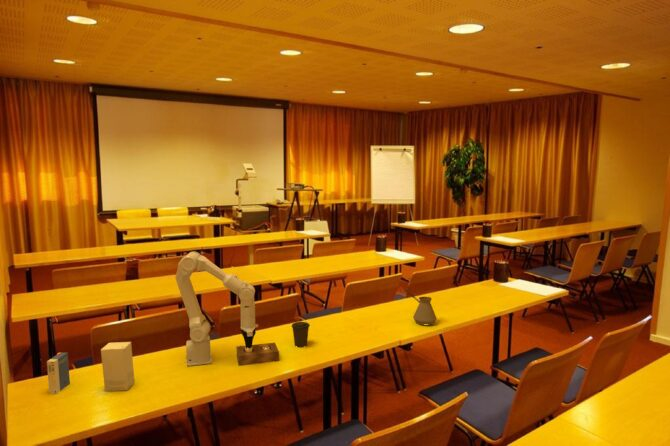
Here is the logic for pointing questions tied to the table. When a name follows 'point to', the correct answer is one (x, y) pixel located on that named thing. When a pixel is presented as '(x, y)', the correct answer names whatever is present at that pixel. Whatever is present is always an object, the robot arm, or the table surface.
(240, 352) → the socket block
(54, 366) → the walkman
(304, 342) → the coffee cup
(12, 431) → the table surface
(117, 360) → the skincare box
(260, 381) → the table surface
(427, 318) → the coffee pot
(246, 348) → the peg left
